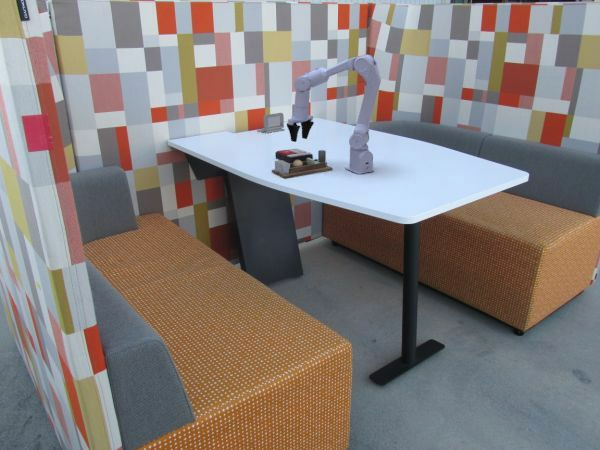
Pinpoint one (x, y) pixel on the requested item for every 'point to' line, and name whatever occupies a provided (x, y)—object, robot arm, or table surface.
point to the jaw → (320, 158)
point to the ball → (297, 163)
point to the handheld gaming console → (273, 123)
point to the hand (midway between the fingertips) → (299, 139)
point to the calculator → (293, 155)
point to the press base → (304, 169)
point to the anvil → (282, 167)
